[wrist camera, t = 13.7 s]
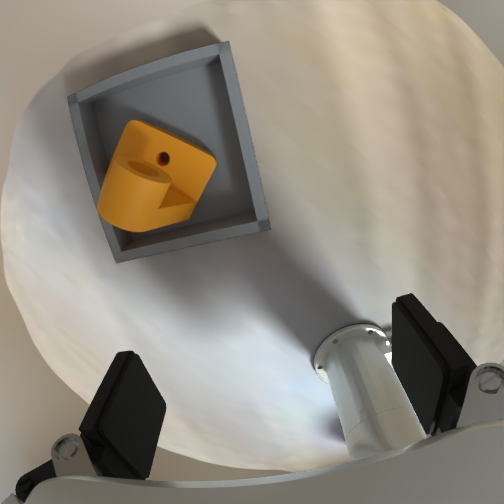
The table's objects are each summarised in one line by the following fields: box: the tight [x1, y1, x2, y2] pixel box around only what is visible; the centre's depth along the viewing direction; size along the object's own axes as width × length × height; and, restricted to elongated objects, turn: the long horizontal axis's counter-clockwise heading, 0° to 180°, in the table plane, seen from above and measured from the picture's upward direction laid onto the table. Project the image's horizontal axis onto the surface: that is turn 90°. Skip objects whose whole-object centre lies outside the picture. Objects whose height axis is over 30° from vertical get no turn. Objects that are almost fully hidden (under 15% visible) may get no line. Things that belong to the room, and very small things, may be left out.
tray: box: [67, 41, 271, 263], centre depth 32 cm, size 18×20×5 cm
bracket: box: [97, 120, 217, 232], centre depth 28 cm, size 11×7×12 cm, turn 61°
